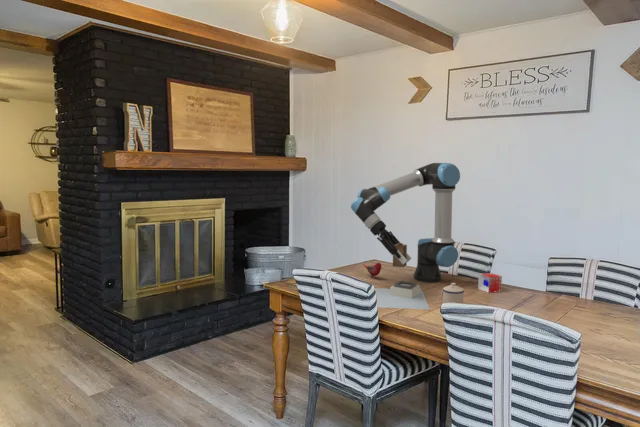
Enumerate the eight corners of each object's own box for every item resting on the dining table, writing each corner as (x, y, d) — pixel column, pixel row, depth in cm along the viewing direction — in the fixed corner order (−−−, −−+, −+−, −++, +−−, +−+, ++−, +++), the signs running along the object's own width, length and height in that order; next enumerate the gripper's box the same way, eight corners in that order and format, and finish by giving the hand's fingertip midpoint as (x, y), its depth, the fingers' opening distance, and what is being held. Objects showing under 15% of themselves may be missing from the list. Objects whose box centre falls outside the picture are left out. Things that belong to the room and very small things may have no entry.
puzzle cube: (501, 291, 238) (501, 276, 237) (488, 292, 235) (489, 277, 234) (490, 287, 245) (491, 272, 245) (478, 288, 243) (478, 273, 242)
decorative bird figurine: (379, 281, 256) (379, 263, 255) (360, 274, 271) (360, 257, 270) (383, 281, 258) (383, 263, 256) (364, 274, 273) (365, 257, 272)
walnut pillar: (396, 264, 227) (396, 242, 225) (406, 265, 224) (406, 243, 223) (392, 266, 222) (393, 243, 221) (402, 267, 220) (403, 244, 219)
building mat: (421, 291, 237) (421, 289, 237) (429, 311, 205) (429, 309, 205) (373, 289, 240) (374, 288, 239) (374, 308, 208) (374, 307, 208)
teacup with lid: (467, 310, 207) (468, 284, 205) (451, 313, 203) (452, 286, 202) (449, 303, 218) (450, 278, 216) (433, 305, 214) (434, 280, 213)
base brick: (398, 289, 237) (398, 279, 236) (419, 293, 231) (419, 282, 230) (390, 295, 227) (390, 284, 227) (411, 298, 222) (412, 287, 221)
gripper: (377, 227, 237) (408, 262, 231) (362, 232, 221) (395, 270, 215) (387, 217, 234) (419, 253, 227) (372, 222, 218) (406, 260, 212)
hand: (407, 261), depth 221 cm, fingers closed on walnut pillar, 5 cm apart
